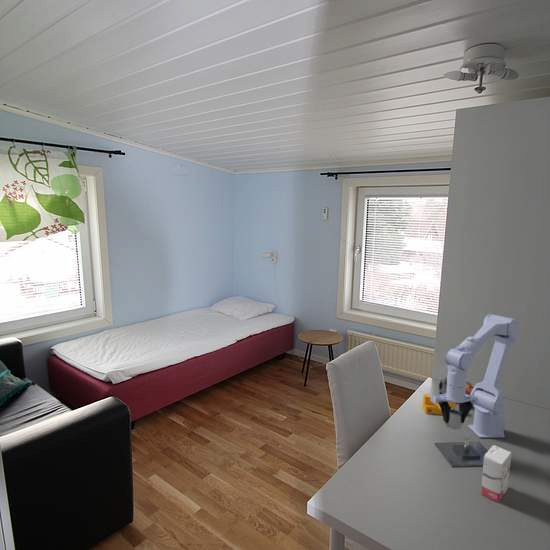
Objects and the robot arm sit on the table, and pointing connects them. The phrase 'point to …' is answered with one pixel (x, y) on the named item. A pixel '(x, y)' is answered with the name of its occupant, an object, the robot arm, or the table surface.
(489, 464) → the ink box
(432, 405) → the yellow curved piece
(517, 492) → the table surface
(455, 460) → the grey square base plate
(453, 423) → the tube
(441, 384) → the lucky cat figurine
